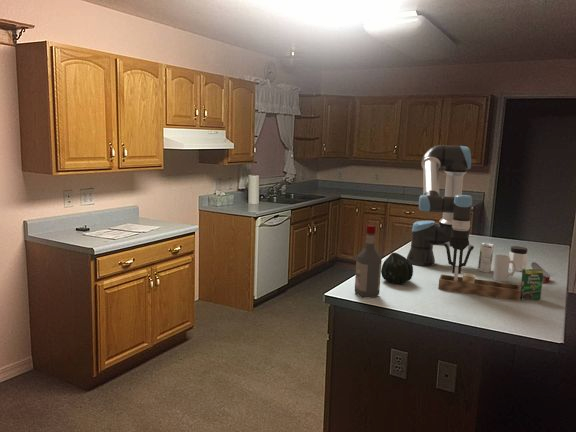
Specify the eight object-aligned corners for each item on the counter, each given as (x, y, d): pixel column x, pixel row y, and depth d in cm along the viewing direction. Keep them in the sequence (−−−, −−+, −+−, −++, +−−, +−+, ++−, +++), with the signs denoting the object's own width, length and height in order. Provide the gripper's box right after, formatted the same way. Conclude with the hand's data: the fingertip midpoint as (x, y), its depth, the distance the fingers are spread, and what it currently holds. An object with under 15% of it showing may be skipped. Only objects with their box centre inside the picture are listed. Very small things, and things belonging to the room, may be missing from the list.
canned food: (537, 286, 245) (547, 269, 245) (548, 290, 235) (559, 273, 235) (518, 275, 245) (528, 258, 244) (529, 279, 234) (539, 261, 234)
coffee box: (522, 299, 208) (525, 270, 206) (518, 297, 211) (522, 268, 209) (540, 300, 208) (544, 270, 206) (537, 298, 211) (540, 268, 209)
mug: (491, 279, 237) (493, 256, 235) (494, 277, 243) (496, 253, 241) (513, 283, 231) (516, 259, 230) (516, 280, 237) (518, 257, 235)
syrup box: (479, 268, 258) (482, 242, 256) (491, 270, 255) (494, 243, 253) (477, 271, 253) (480, 244, 251) (489, 272, 250) (492, 245, 248)
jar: (519, 272, 254) (521, 250, 252) (504, 268, 261) (507, 246, 259) (528, 270, 259) (531, 248, 257) (514, 266, 266) (516, 245, 264)
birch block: (461, 285, 216) (462, 275, 216) (462, 282, 221) (463, 273, 220) (473, 287, 215) (474, 277, 214) (474, 284, 219) (475, 274, 218)
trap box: (438, 289, 218) (439, 279, 218) (440, 283, 227) (441, 274, 227) (519, 300, 206) (521, 290, 205) (518, 294, 214) (519, 284, 214)
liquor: (361, 298, 201) (366, 228, 197) (352, 291, 210) (356, 224, 205) (381, 297, 204) (386, 227, 199) (371, 290, 212) (376, 223, 208)
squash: (422, 270, 228) (403, 244, 231) (413, 279, 215) (393, 251, 218) (399, 285, 235) (381, 260, 238) (389, 294, 222) (370, 267, 225)
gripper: (444, 229, 215) (439, 280, 219) (475, 232, 210) (470, 284, 214) (446, 226, 222) (441, 276, 225) (476, 229, 217) (471, 280, 220)
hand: (455, 280), depth 220 cm, fingers closed
